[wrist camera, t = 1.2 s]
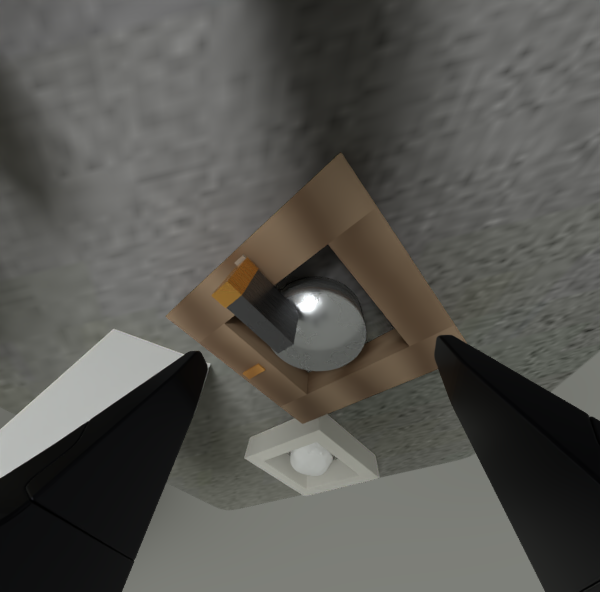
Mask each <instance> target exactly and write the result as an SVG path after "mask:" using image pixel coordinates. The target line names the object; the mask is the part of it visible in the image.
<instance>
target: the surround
mask: <svg viewBox="0 0 600 592" xmlns="http://www.w3.org/2000/svg"><path fill="white" fill-rule="evenodd" d="M326 245H329V246H330V247H331V249H332V250H333V251H334V252H335V254H336V255H337V256H338V257H339V259H340V260H341V261H342V262H343V264H344V265H345V266H346V267H347V269H348V270H349V271H350V272H351V274H352V275H353V276H354V277H355V279H356V280H357V281H358V282H359V284H360V285H361V286H362V287H363V289H364V290H365V291H366V292H367V294H368V295H369V296H370V297H371V299H372V300H373V301H374V302H375V304H376V305H377V306H378V307H379V309H380V310H381V311H382V312H383V314H384V315H385V316H386V317H387V319H388V320H389V321H390V322H391V324H392V325H393V326H394V328H395V329H393V330H391V331H389V332H387V333H385V334H383V335H381V336H379V337H377V338H376V339H374V340H372V341H370V342H368V343H366V344H364V347H363V348H362V350H361V352H360V353H359V354H358V356H357V357H356V358H355V359H354V360H352V361H351V362H349V363H348V364H346V365H344V366H342V367H340V368H337V369H333V370H328V371H311V372H309V373H308V372H307V371H306V370H304V369H300V368H297V367H294V366H292V365H290V364H288V363H286V362H285V361H283V360H282V359H281V358H280V357H278V356H277V355H276V354H275V352H274V351H273V350H272V348H271V347H270V346H269V345H268V344H267V343H265V342H264V341H263V340H262V339H261V338H260V337H259V336H258V335H256V334H255V333H254V332H253V331H252V330H251V329H250V328H249V327H247V326H246V325H245V324H244V323H243V322H242V321H241V320H240V319H239V318H237V317H236V316H235V315H234V314H233V313H232V312H231V311H230V310H228V309H227V308H224V307H223V306H222V305H221V304H220V303H219V302H218V301H217V300H215V299H214V298H213V297H212V296H211V295H212V294H213V293H214V291H215V290H216V289H217V288H218V287H219V286H220V284H221V283H222V282H223V281H224V280H225V279H226V278H227V276H228V275H229V274H230V273H231V272H232V271H233V269H234V268H236V267H237V266H238V265H239V264H240V263H241V262H242V261H243V260H245V259H246V258H247V257H248V258H249V259H250V260H251V261H252V262H253V263H254V264H255V265H256V267H257V268H258V270H259V271H260V272H261V273H262V274H263V275H264V276H265V277H266V278H267V279H268V280H269V281H270V282H271V283H272V284H273V285H275V284H277V283H278V282H279V281H280V280H282V279H283V278H284V277H286V276H287V275H288V274H290V273H291V272H292V271H294V270H295V269H296V268H297V267H299V266H300V265H301V264H303V263H304V262H305V261H307V260H308V259H309V258H311V257H312V256H313V255H314V254H316V253H317V252H318V251H320V250H321V249H322V248H324V247H325V246H326ZM165 317H167V318H168V319H169V320H170V321H172V322H173V323H174V324H175V325H177V326H178V327H179V328H181V329H182V330H183V331H184V332H186V333H187V334H188V335H189V336H191V337H192V338H193V339H195V340H196V341H197V342H198V343H200V344H201V345H202V346H204V347H205V348H206V349H207V350H209V351H210V352H211V353H212V354H214V355H215V356H216V357H218V358H219V359H220V360H221V361H223V362H224V363H225V364H226V365H228V366H229V367H230V368H232V369H233V370H234V371H235V372H237V373H238V374H239V375H240V376H242V377H243V378H244V379H246V380H247V381H248V382H249V383H251V384H252V385H253V386H255V387H256V388H257V389H258V390H260V391H261V392H262V393H263V394H265V395H266V396H267V397H269V398H270V399H271V400H272V401H274V402H275V403H276V404H277V405H279V406H280V407H281V408H283V409H284V410H285V411H286V412H288V413H289V414H290V415H291V416H293V417H294V418H295V419H297V420H298V421H299V422H300V423H302V424H304V423H306V422H309V421H311V420H314V419H316V418H319V417H321V416H324V415H326V414H329V413H331V412H334V411H336V410H338V409H341V408H343V407H346V406H348V405H351V404H353V403H356V402H358V401H361V400H363V399H366V398H368V397H370V396H373V395H375V394H378V393H380V392H383V391H385V390H388V389H390V388H393V387H395V386H398V385H400V384H402V383H405V382H407V381H410V380H412V379H415V378H417V377H420V376H422V375H425V374H427V373H430V372H432V371H435V370H437V369H438V367H437V364H436V361H435V358H434V351H435V345H436V339H437V336H439V335H453V336H455V337H457V338H458V339H460V340H462V341H463V342H465V343H467V342H466V341H465V339H464V338H463V336H462V335H461V333H460V332H459V330H458V329H457V327H456V326H455V324H454V323H453V321H452V320H451V318H450V317H449V315H448V313H447V312H446V310H445V309H444V307H443V306H442V304H441V303H440V301H439V300H438V298H437V297H436V295H435V294H434V292H433V291H432V289H431V288H430V286H429V285H428V283H427V282H426V280H425V279H424V277H423V276H422V274H421V273H420V271H419V270H418V268H417V267H416V265H415V264H414V262H413V260H412V259H411V257H410V256H409V254H408V253H407V251H406V250H405V248H404V247H403V245H402V244H401V242H400V241H399V239H398V238H397V236H396V235H395V233H394V232H393V230H392V229H391V227H390V226H389V224H388V223H387V221H386V220H385V218H384V217H383V215H382V214H381V212H380V210H379V209H378V207H377V206H376V204H375V203H374V201H373V200H372V198H371V197H370V195H369V194H368V192H367V191H366V189H365V188H364V186H363V185H362V183H361V182H360V180H359V179H358V177H357V176H356V174H355V173H354V171H353V170H352V168H351V167H350V165H349V164H348V162H347V160H346V159H345V157H344V156H343V154H342V153H339V154H338V155H337V156H336V157H335V158H334V159H333V160H332V161H330V162H329V163H328V164H327V165H326V166H325V167H324V168H323V169H322V170H321V171H320V172H319V173H318V174H317V175H315V176H314V177H313V178H312V179H311V180H310V181H309V182H308V183H307V184H306V185H305V186H304V187H303V188H302V189H301V190H299V191H298V192H297V193H296V194H295V195H294V196H293V197H292V198H291V199H290V200H289V201H288V202H287V203H286V204H284V205H283V206H282V207H281V208H280V209H279V210H278V211H277V212H276V213H275V214H274V215H273V216H272V217H271V218H269V219H268V220H267V221H266V222H265V223H264V224H263V225H262V226H261V227H260V228H259V229H258V230H257V231H256V232H255V233H253V234H252V235H251V236H250V237H249V238H248V239H247V240H246V241H245V242H244V243H243V244H242V245H241V246H240V247H238V248H237V249H236V250H235V251H234V252H233V253H232V254H231V255H230V256H229V257H228V258H227V259H226V260H225V261H224V262H222V263H221V264H220V265H219V266H218V267H217V268H216V269H215V270H214V271H213V272H212V273H211V274H210V275H209V276H207V277H206V278H205V279H204V280H203V281H202V282H201V283H200V284H199V285H198V286H197V287H196V288H195V289H194V290H193V291H191V292H190V293H189V294H188V295H187V296H186V297H185V298H184V299H183V300H182V301H181V302H180V303H179V304H178V305H177V306H176V307H175V308H173V309H172V310H171V311H170V312H169V313H168V314H167V315H166V316H165Z"/></svg>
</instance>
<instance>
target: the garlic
mask: <svg viewBox="0 0 600 592" xmlns="http://www.w3.org/2000/svg"><path fill="white" fill-rule="evenodd" d="M332 461H333V454H331V453H330V452H329V451H327V450H326V449H325V448H324V447H322V446H321V445H320V444H318V443H317V442H315V443H312V444H310V445H307V446H304V447H301V448H298V449H296V450H293V451H291V454H290V462H291V465H292V467H293V468H294V469H295V470H296V471H297V472H299V473H301V474H304V475H310V476H320V475H322V474H324V473H325V472H326V471H327V470H328V468H329V466H330V464H331V462H332Z"/></svg>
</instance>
